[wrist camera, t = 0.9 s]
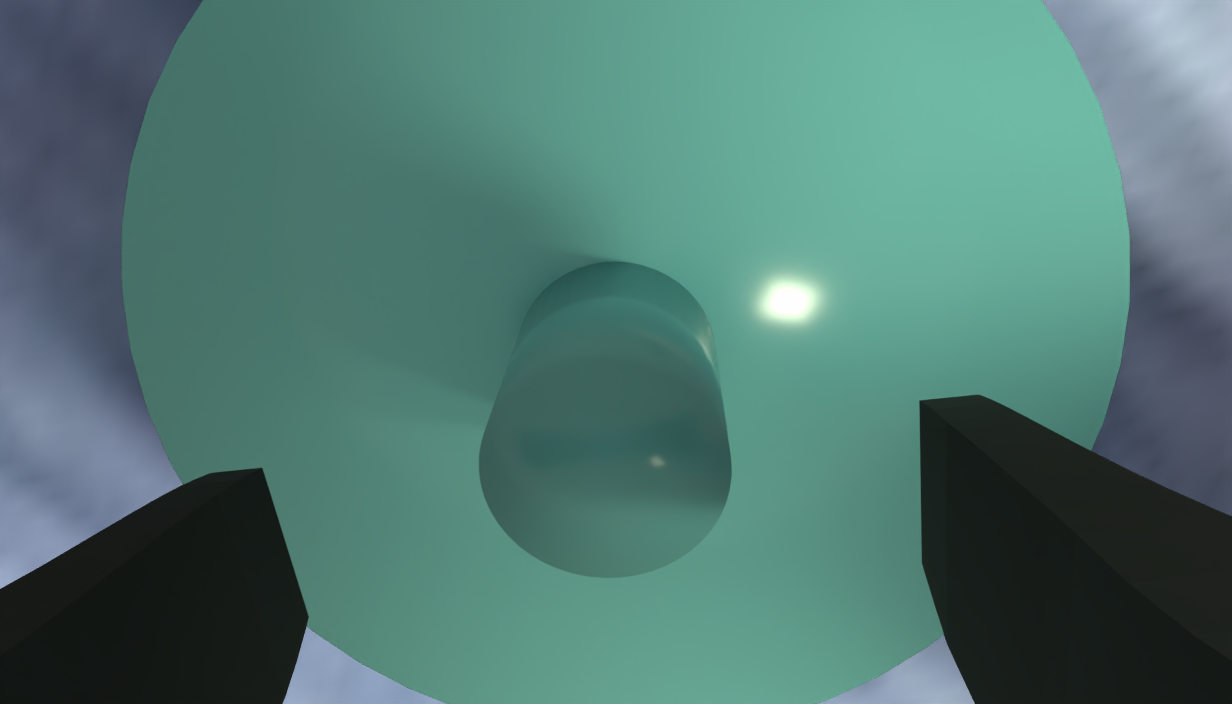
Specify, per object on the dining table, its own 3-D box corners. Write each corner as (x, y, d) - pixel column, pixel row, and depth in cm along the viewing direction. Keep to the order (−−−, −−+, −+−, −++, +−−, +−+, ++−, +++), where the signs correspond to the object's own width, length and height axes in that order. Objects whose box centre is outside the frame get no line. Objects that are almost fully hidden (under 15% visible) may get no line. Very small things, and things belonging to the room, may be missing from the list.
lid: (1142, -291, 12) (1381, -405, 8) (1081, 672, 18) (1204, 884, 14) (0, -111, 13) (-276, -131, 9) (287, 732, 19) (189, 940, 15)
